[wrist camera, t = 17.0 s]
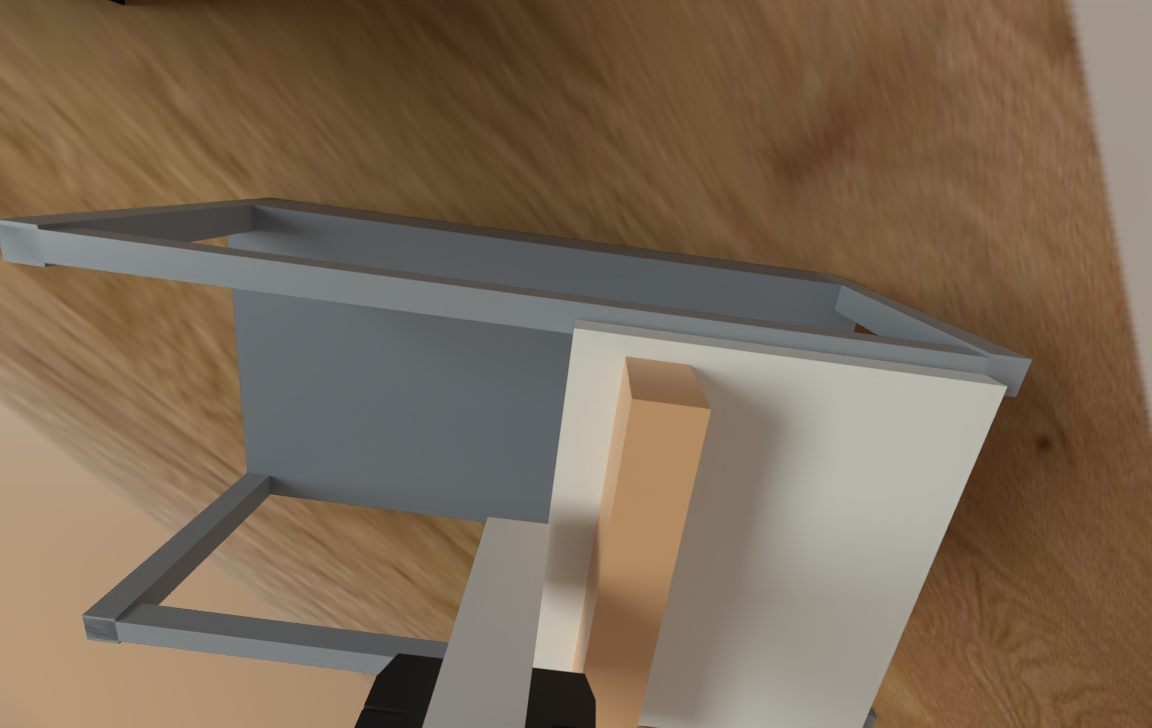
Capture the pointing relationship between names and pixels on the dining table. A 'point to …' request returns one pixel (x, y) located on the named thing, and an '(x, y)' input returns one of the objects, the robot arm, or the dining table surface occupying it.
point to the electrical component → (119, 1)
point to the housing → (427, 370)
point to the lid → (745, 524)
